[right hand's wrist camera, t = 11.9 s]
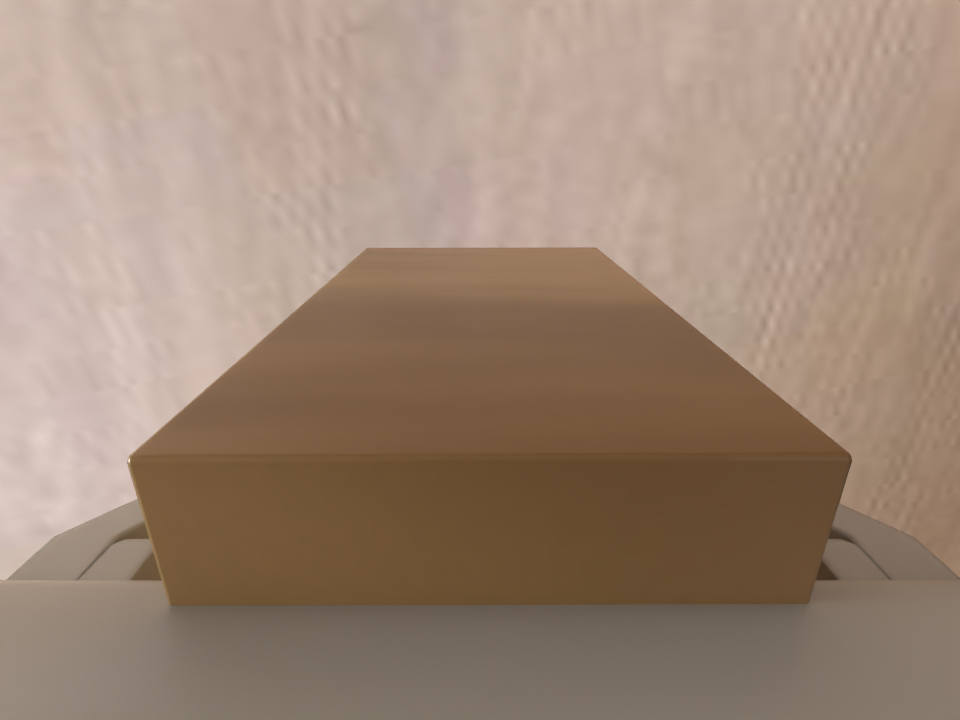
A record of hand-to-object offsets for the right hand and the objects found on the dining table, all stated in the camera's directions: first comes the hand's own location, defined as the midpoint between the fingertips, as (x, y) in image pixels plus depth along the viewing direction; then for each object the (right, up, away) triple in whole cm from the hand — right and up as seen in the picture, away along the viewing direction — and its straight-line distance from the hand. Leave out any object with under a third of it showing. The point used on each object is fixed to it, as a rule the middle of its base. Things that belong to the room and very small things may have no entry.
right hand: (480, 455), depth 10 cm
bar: (0, -7, +7) cm, 10 cm away
